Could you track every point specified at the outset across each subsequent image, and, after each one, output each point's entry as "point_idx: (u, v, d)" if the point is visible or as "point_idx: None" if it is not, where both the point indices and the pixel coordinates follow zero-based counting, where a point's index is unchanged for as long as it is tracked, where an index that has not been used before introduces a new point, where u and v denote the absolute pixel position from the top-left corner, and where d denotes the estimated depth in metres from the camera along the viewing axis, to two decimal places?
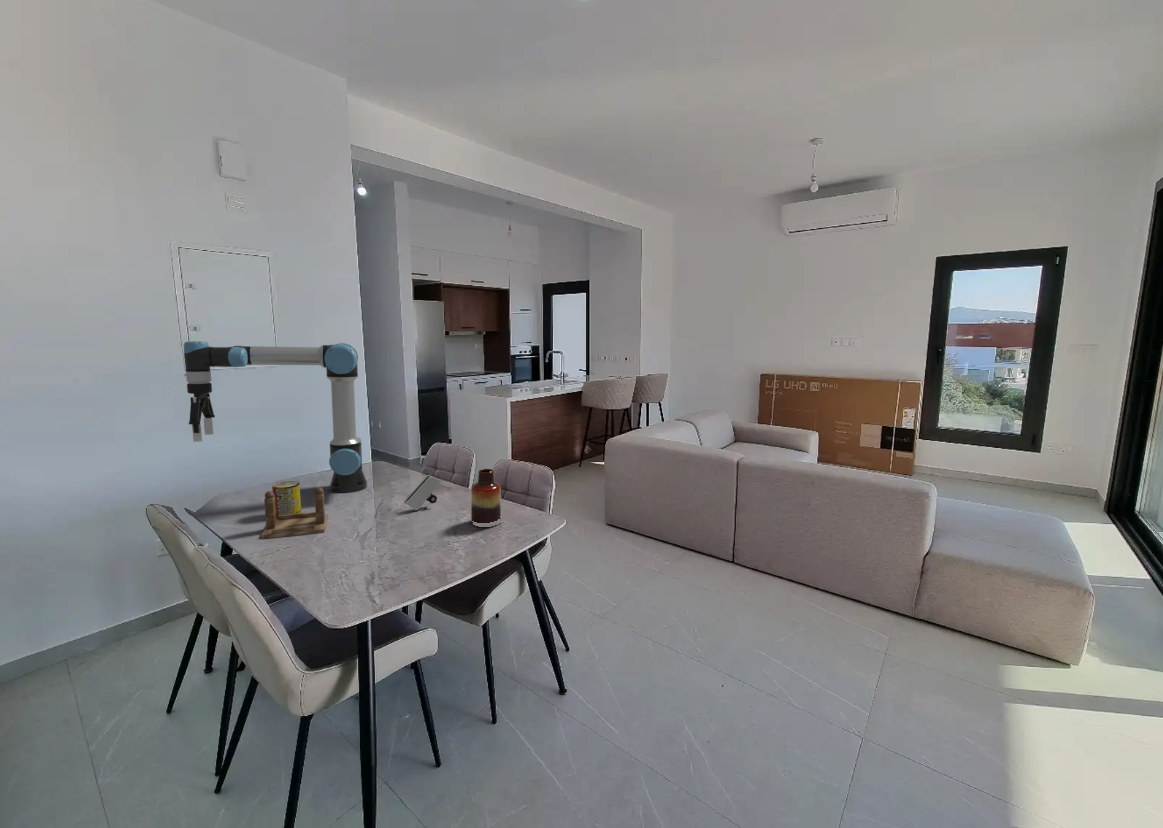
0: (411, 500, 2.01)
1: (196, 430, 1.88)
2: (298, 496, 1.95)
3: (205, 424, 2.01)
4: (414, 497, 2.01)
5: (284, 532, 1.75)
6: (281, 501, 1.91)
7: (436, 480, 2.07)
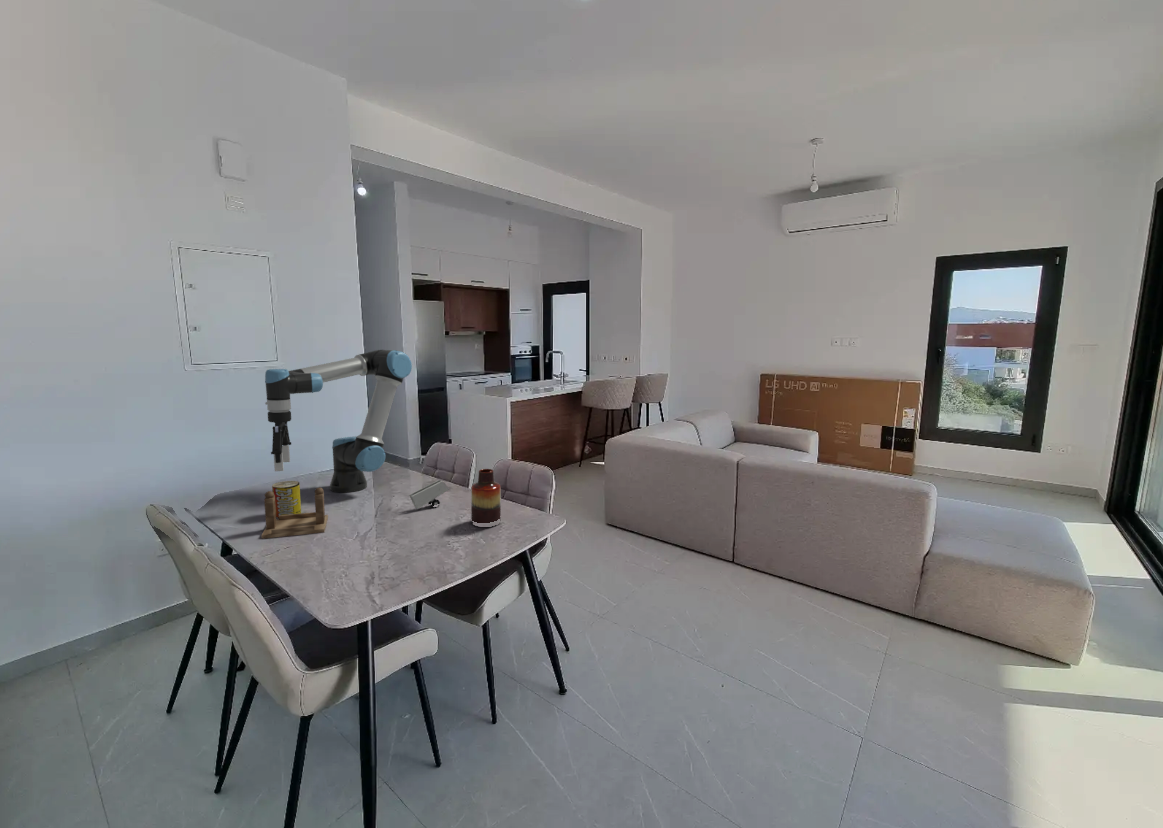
0: (417, 495, 2.02)
1: (278, 460, 1.85)
2: (298, 496, 1.95)
3: (282, 452, 1.98)
4: (421, 494, 2.03)
5: (284, 532, 1.75)
6: (281, 501, 1.91)
7: (446, 487, 2.10)
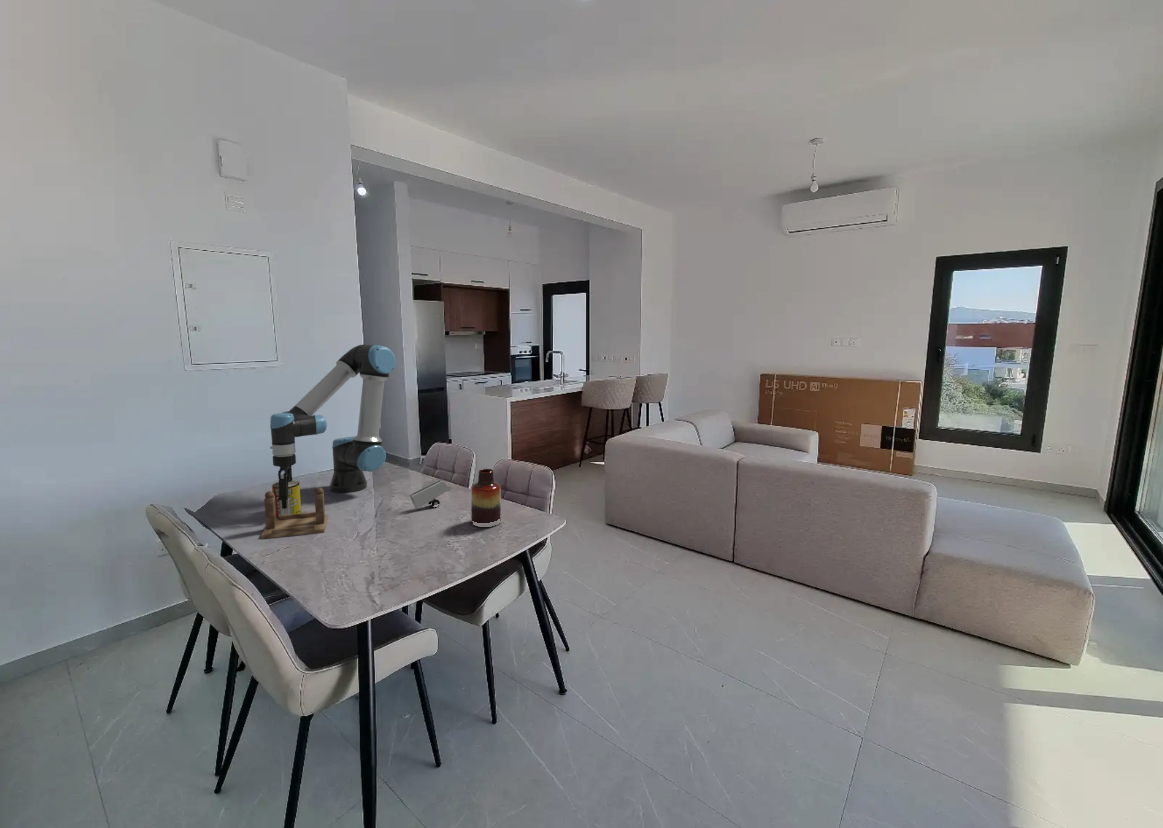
0: (417, 495, 2.02)
1: (284, 506, 1.89)
2: (298, 496, 1.95)
3: None
4: (421, 494, 2.03)
5: (284, 532, 1.75)
6: None
7: (446, 487, 2.10)
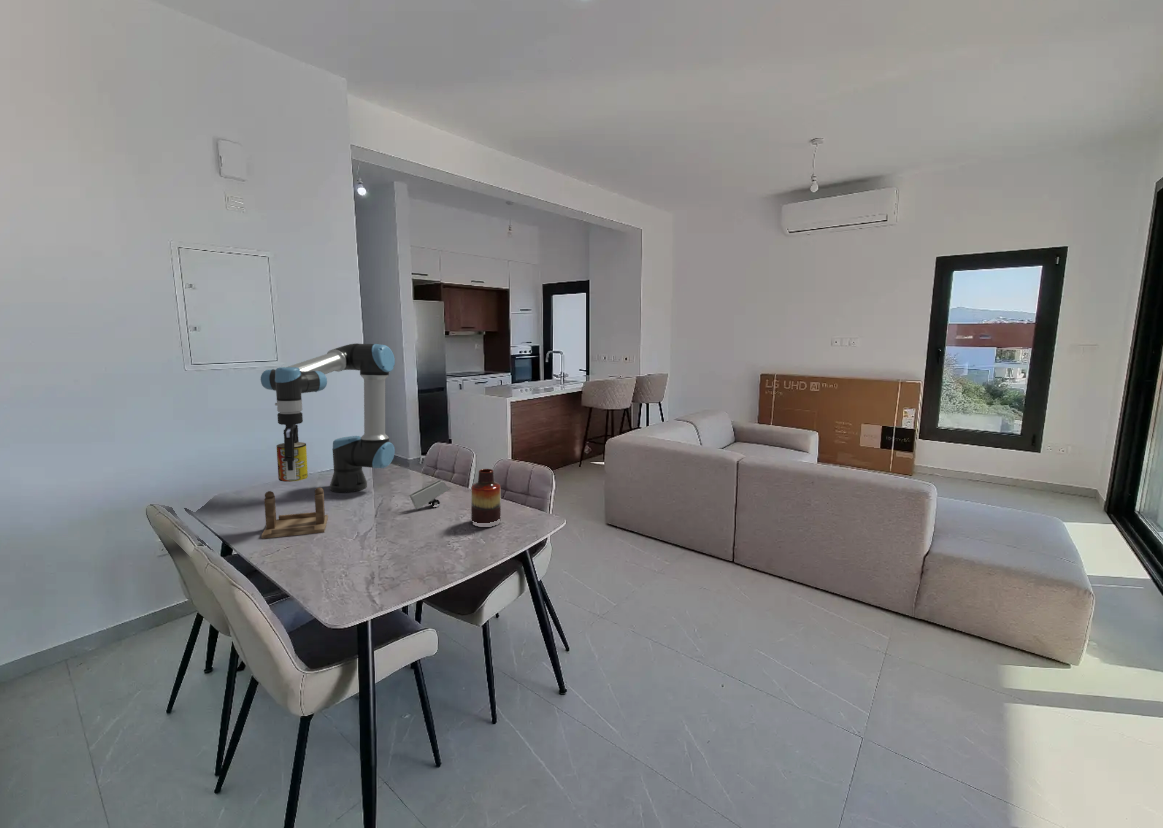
0: (417, 495, 2.02)
1: (290, 467, 1.74)
2: (305, 458, 1.79)
3: None
4: (421, 494, 2.03)
5: (284, 532, 1.75)
6: None
7: (446, 487, 2.10)
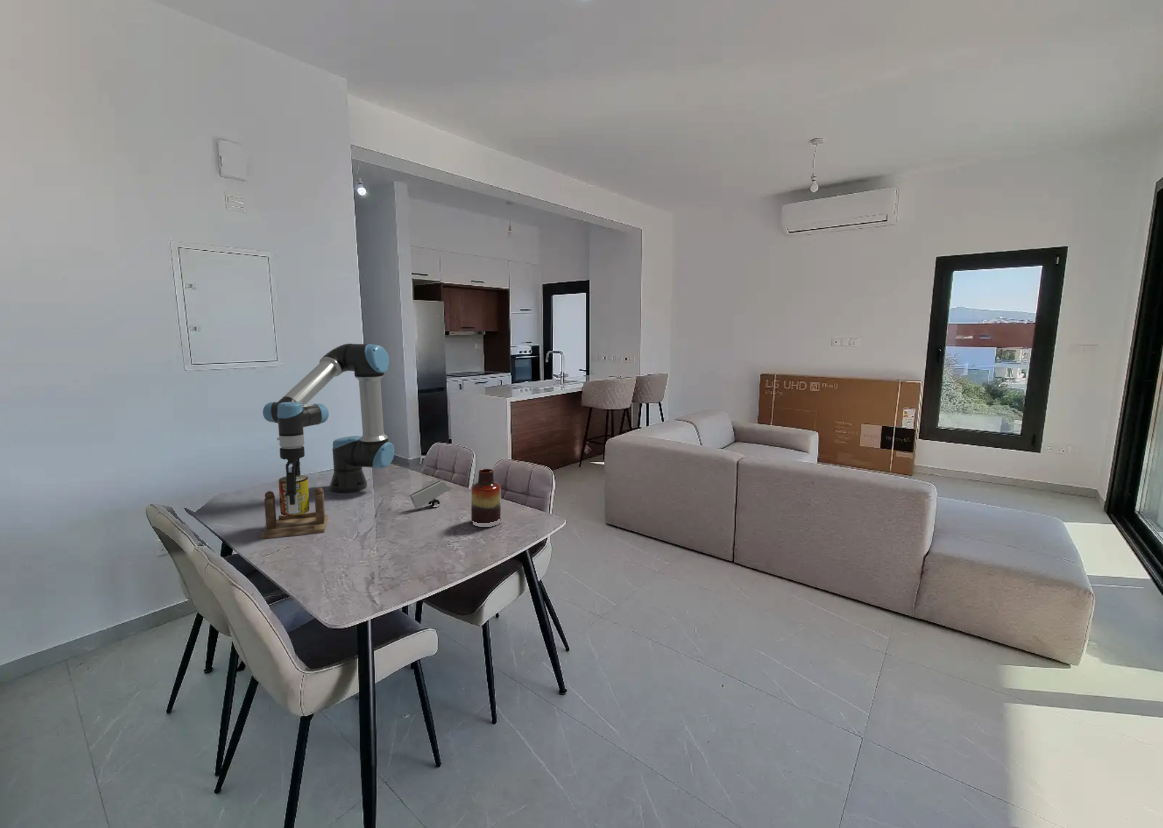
0: (417, 495, 2.02)
1: (292, 502, 1.76)
2: (306, 491, 1.81)
3: None
4: (421, 494, 2.03)
5: (284, 532, 1.75)
6: None
7: (446, 487, 2.10)
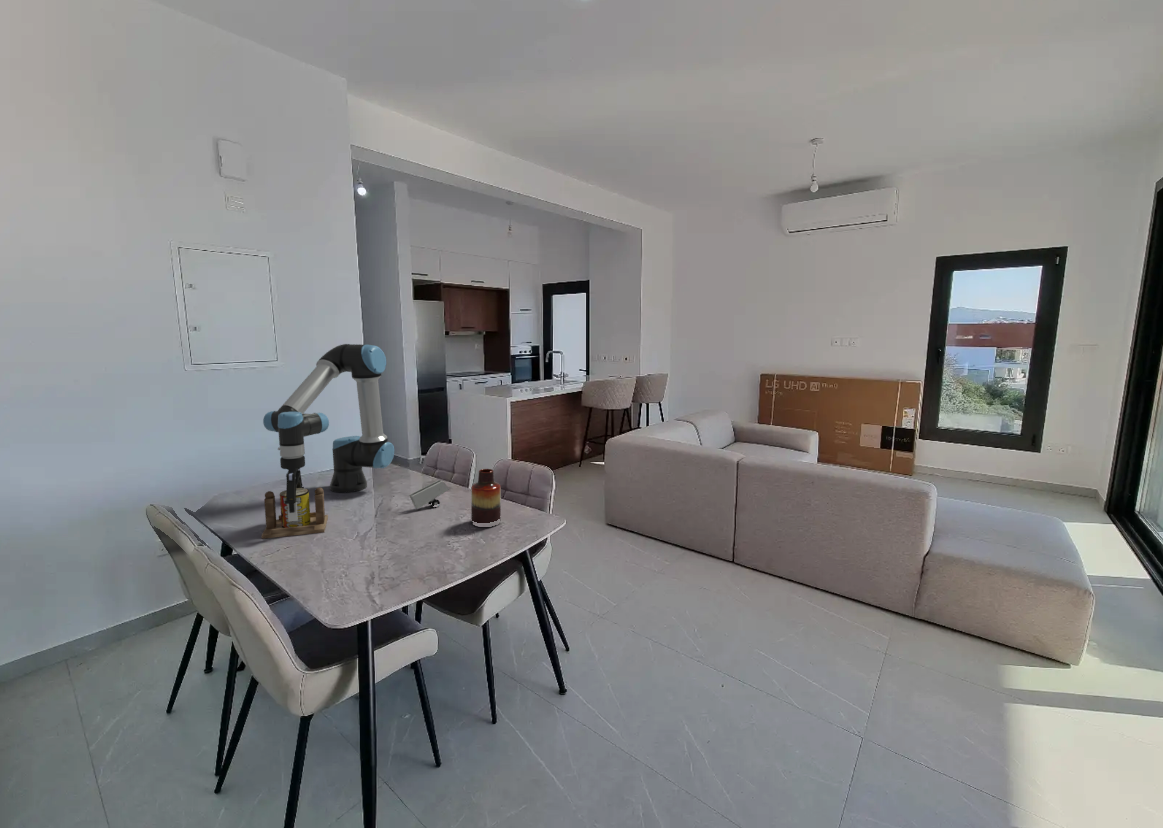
0: (417, 495, 2.02)
1: (292, 510, 1.74)
2: (307, 505, 1.82)
3: None
4: (421, 494, 2.03)
5: (284, 532, 1.75)
6: None
7: (446, 487, 2.10)
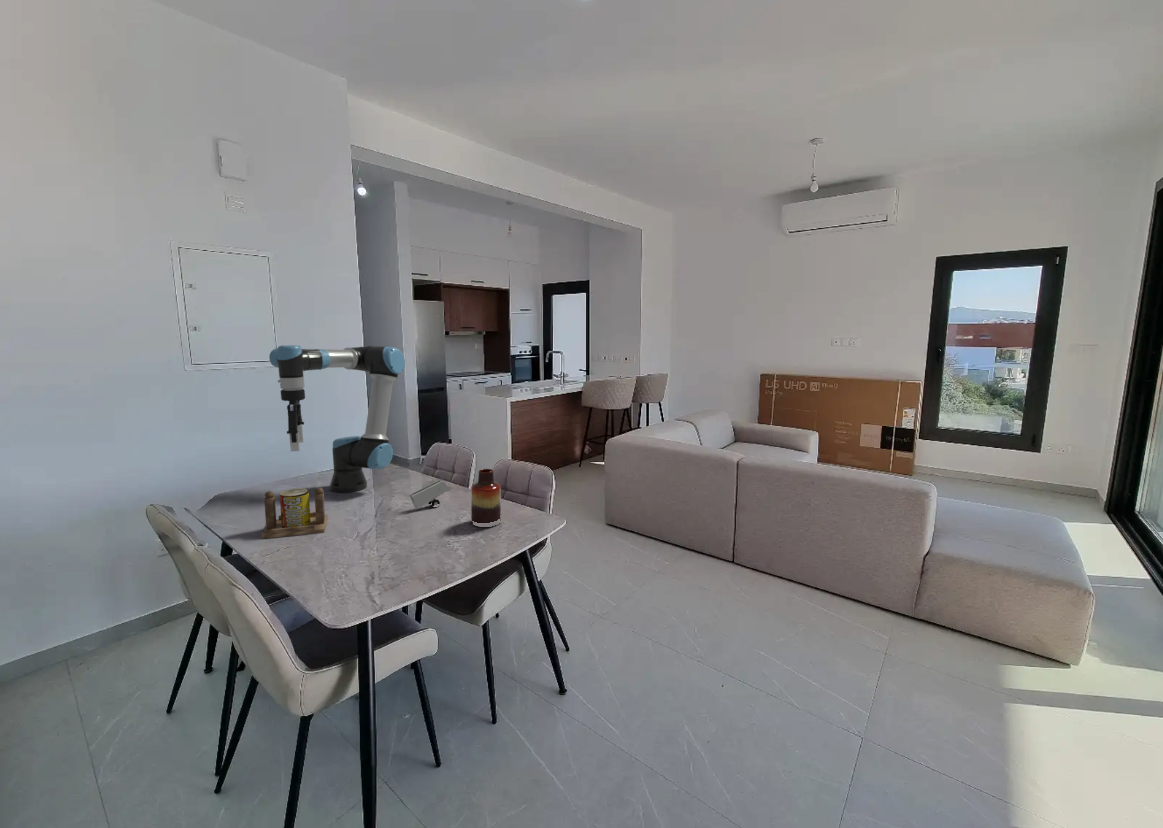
0: (417, 495, 2.02)
1: (294, 439, 1.79)
2: (307, 505, 1.82)
3: None
4: (421, 494, 2.03)
5: (284, 532, 1.75)
6: (289, 511, 1.78)
7: (446, 487, 2.10)
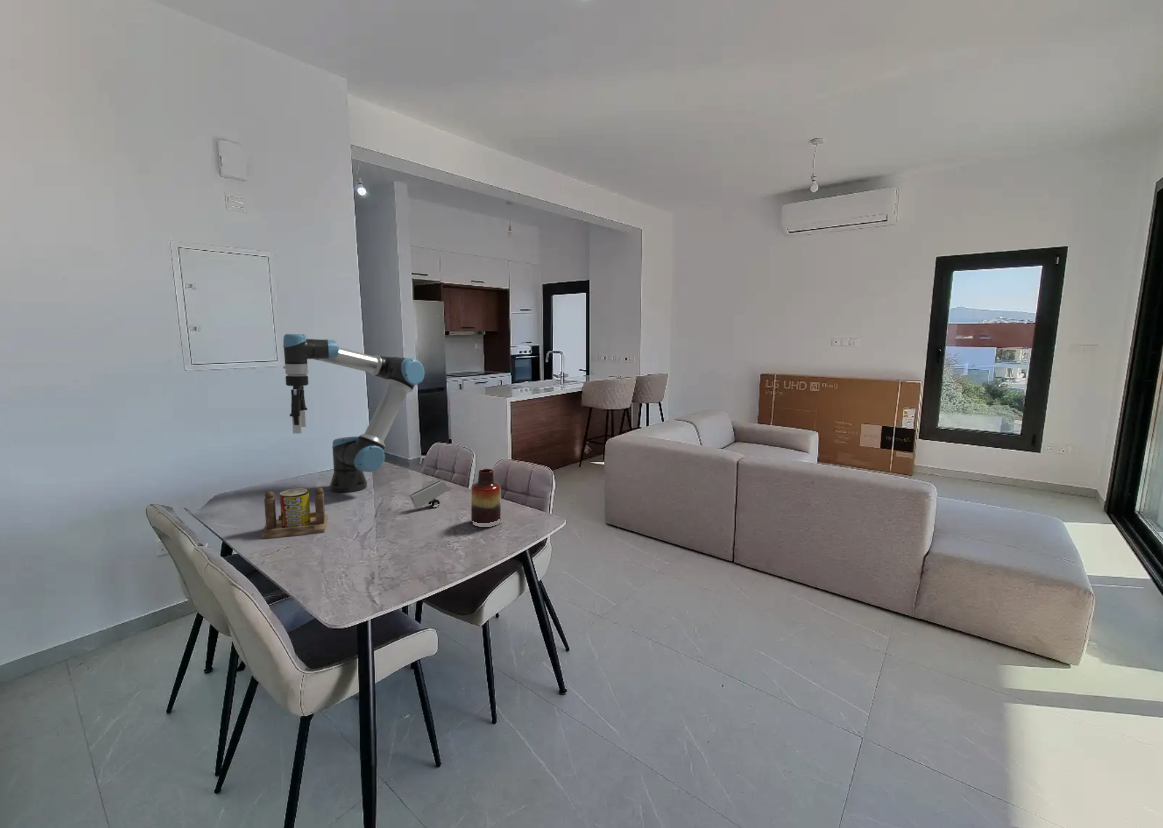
0: (417, 495, 2.02)
1: (296, 422, 1.89)
2: (307, 505, 1.82)
3: None
4: (421, 494, 2.03)
5: (284, 532, 1.75)
6: (289, 511, 1.78)
7: (446, 487, 2.10)
